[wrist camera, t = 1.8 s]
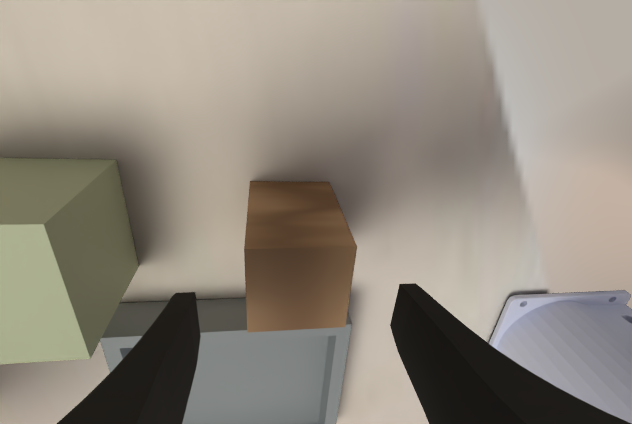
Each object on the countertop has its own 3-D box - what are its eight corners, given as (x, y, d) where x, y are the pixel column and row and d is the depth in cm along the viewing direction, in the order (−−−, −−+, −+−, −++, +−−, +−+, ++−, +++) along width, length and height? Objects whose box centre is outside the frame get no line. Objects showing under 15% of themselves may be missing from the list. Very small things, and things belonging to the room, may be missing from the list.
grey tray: (342, 293, 21) (351, 324, 19) (325, 419, 27) (331, 453, 25) (117, 303, 19) (99, 338, 17) (153, 436, 25) (142, 475, 23)
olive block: (116, 159, 16) (43, 224, 10) (139, 265, 18) (90, 358, 13) (-33, 156, 15) (-196, 226, 10) (14, 268, 18) (-91, 370, 12)
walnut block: (328, 181, 18) (356, 246, 12) (323, 246, 19) (345, 327, 14) (250, 181, 17) (244, 248, 12) (251, 248, 19) (247, 332, 14)
